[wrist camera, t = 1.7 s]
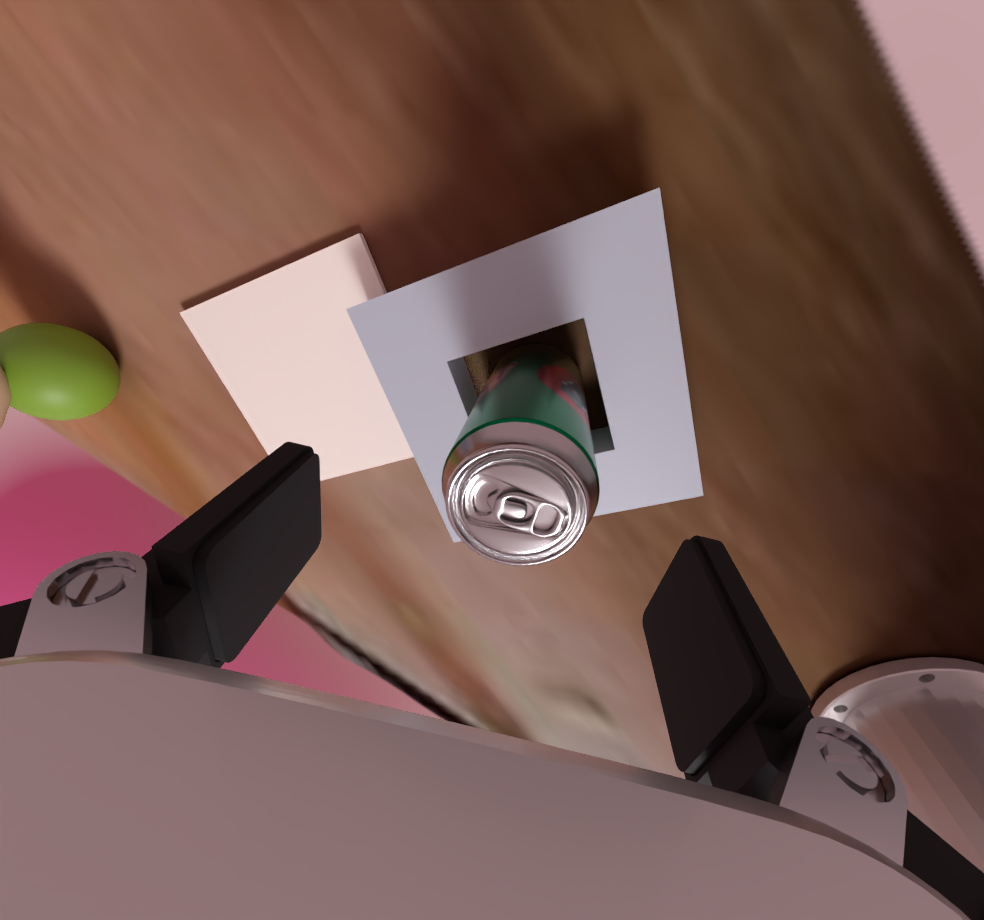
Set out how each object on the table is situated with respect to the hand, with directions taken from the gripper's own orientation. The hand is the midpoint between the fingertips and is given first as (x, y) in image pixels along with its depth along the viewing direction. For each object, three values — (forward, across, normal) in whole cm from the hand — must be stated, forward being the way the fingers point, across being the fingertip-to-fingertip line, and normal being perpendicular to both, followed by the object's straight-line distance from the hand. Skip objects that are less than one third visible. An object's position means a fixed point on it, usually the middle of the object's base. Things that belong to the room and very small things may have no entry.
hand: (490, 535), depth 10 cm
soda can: (+14, -1, 0) cm, 14 cm away
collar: (+14, -1, 0) cm, 14 cm away
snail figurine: (+14, +26, +6) cm, 30 cm away
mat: (+14, +12, +3) cm, 18 cm away
